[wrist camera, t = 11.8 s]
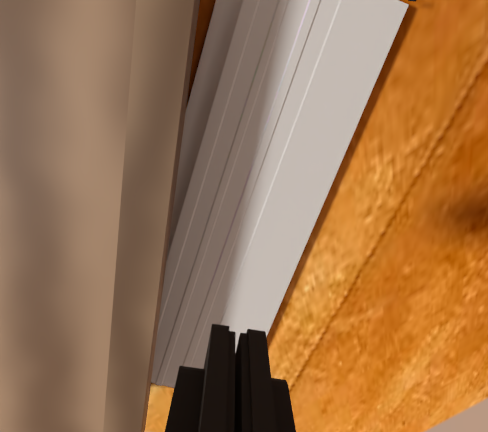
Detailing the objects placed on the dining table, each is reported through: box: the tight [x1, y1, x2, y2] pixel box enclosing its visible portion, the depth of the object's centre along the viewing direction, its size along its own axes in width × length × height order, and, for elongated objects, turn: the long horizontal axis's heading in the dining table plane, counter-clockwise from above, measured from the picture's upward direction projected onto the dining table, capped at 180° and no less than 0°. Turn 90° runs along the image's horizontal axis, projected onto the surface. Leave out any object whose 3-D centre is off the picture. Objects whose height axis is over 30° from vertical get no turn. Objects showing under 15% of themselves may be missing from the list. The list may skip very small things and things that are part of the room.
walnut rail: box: [0, 0, 200, 432], centre depth 21 cm, size 10×32×6 cm, turn 169°
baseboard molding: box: [151, 0, 416, 388], centre depth 23 cm, size 31×3×12 cm
